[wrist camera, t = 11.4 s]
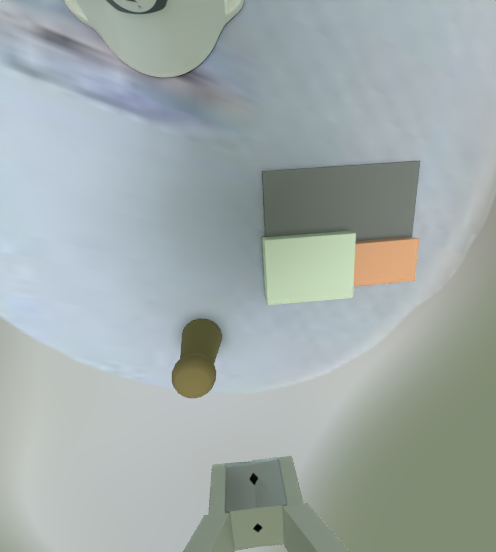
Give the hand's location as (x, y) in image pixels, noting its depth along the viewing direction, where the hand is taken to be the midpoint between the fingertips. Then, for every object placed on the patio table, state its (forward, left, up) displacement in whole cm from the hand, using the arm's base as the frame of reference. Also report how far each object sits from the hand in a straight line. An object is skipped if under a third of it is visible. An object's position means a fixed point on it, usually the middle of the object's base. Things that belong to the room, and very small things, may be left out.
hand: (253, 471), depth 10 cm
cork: (+10, -6, -29) cm, 32 cm away
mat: (-5, +15, -29) cm, 33 cm away
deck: (0, +10, -29) cm, 31 cm away
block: (0, +21, -29) cm, 35 cm away
